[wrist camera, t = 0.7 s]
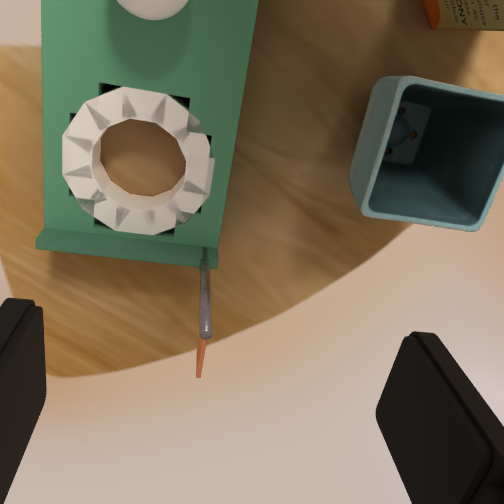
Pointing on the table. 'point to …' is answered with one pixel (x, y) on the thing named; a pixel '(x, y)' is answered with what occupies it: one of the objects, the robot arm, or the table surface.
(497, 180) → the flower pot
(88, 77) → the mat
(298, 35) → the table surface
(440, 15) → the shoe polish box
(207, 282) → the flag
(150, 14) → the ball
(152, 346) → the table surface
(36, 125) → the table surface
